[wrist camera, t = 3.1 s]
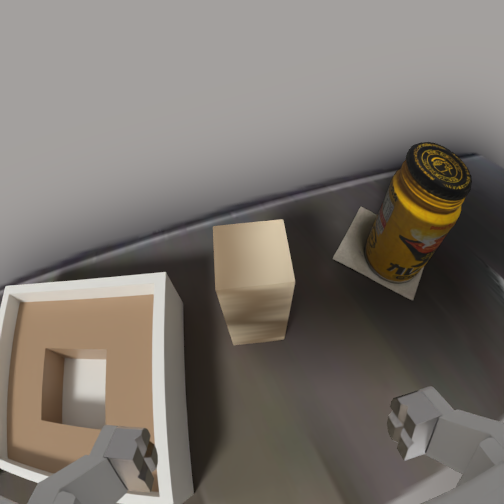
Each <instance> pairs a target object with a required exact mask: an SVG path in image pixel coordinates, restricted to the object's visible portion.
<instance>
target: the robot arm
mask: <svg viewBox="0 0 504 504" xmlns="http://www.w3.org/2000/svg"><path fill="white" fill-rule="evenodd" d="M390 407H391V409H392V410H393V411H392V412H391V414H390V415H389V416H388V421H387V427H388V432H389V435H390V437H391V439H392V440H393V441H396V442H398V447H397V449H398V451H399V453H400V454H401V456H402V458H403V459H404V461H405V460H408V459H411V458H414V457H417V456H420V455H422V454H425V453H426V455H427V456H429V457H431V458H433V459H435V460H436V461H438V462H440V463H442V464H444V465H446V466H448V467H450V468H451V469H453V470H455V471H457V472H459V473H461V474H463V475H462V477H461V479H460V480H459V482H458V484H457V486H456V488H454V489H452V490H450V491H448V492H446V493H444V494H442V495H439V496H437V497H435V498H433V499H431V500H428V501H426V502H424V503H421V504H504V423H503V422H499V421H495V420H492V419H488V418H485V417H481V416H478V415H475V414H471V413H468V412H465V411H462V410H458V409H457V410H455V411H454V409H453V408H452V407H451V406H450V405H449V404H448V403H447V402H446V401H445V399H444V398H443V397H442V396H441V395H440V394H439V393H438V392H437V391H436V390H435V388H434V387H432V386H429V387H426V388H423V389H420V390H418V391H415V392H411V393H408V394H405V395H402V396H399V397H395V398H393V400H392V401H391V406H390ZM150 437H151V435H150V433H149V431H148V429H147V428H141V427H128V426H115V425H105V426H103V427H102V430H101V432H100V434H99V436H98V438H97V440H96V442H95V444H94V446H93V448H92V450H91V452H90V454H89V455H84V456H83V457H81V458H79V459H78V460H76V461H75V462H73V463H71V464H70V465H68V466H66V467H65V468H63V469H61V470H60V471H58V472H56V473H55V474H53V475H51V476H49V477H48V478H46V479H44V480H42V481H41V482H39V483H38V484H37V486H36V488H35V490H34V492H33V494H32V496H31V498H30V499H29V501H28V503H27V504H115V503H116V502H118V501H119V500H120V499H121V498H122V497H123V496H124V495H125V494H126V493H127V492H128V491H138V492H151V490H152V486H153V482H154V477H153V475H152V472H153V471H155V470H156V469H157V464H158V454H157V449H156V447H155V444H153V443H152V442H151V441H149V440H150ZM127 490H128V491H127ZM0 504H18V503H16V502H14V501H11V500H9V499H7V498H5V497H3V496H1V495H0Z"/></svg>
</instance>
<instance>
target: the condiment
mask: <svg viewBox="0 0 504 504" xmlns="http://www.w3.org/2000/svg"><path fill="white" fill-rule="evenodd" d="M471 183H472V180H471V175H470V172H469V170H468V168H467V167H466V165H465V164H464V163H463V162H462V160H461V159H460V158H459V157H458V156H457V155H456V154H454V153H453V152H451V151H450V150H448V149H447V148H445V147H443V146H441V145H438V144H435V143H430V142H425V143H419V144H416V145H413V146H412V147H411V148H410V149H409V151H408V153H407V156H406V160H405V161H404V162H403V164H402V167H401V168H400V169H399V170H398V171H397V172H396V173H395V174H394V176H393V178H392V180H391V183H390V186H389V188H388V191H387V194H386V196H385V199H384V201H383V204H382V205H381V209H380V210H379V213H378V215H376V214H374V213H373V212H371V211H369V210H367V209H365V208H363V207H360V209H359V211H358V213H357V215H356V217H355V218H354V220H353V222H352V224H351V226H350V228H349V230H348V232H347V233H346V235H345V237H344V239H343V241H342V242H341V244H340V246H339V248H338V250H337V251H336V253H335V255H334V257H333V259H334V260H336V261H338V262H340V263H342V264H344V265H345V266H347V267H350V268H352V269H354V270H356V271H358V272H359V273H362V274H364V275H365V276H367V277H369V278H371V279H372V280H374V281H376V282H378V283H379V284H381V285H383V286H385V287H387V288H389V289H391V290H393V291H395V292H396V293H399V294H401V295H402V296H404V297H406V298H408V299H411V300H413V299H414V296H415V293H416V290H417V287H418V284H419V281H420V278H421V274H422V271H423V268H424V265H425V264H426V263H427V262H428V260H429V259H430V258H431V256H432V255H433V253H434V252H435V251H436V250H437V248H438V247H439V246H440V244H441V242H442V241H443V239H444V238H445V237H446V235H447V234H448V232H449V231H450V229H451V228H452V227H453V226H454V225H455V223H456V220H457V219H458V217H459V215H460V213H461V205H462V203H463V201H464V199H465V197H466V196H467V194H468V193H469V192H470V190H471ZM359 251H361V253H360V252H359ZM362 255H363V256H362Z"/></svg>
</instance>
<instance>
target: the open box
mask: <svg viewBox="0 0 504 504" xmlns="http://www.w3.org/2000/svg"><path fill="white" fill-rule="evenodd" d="M105 425H115V426H128V427H141V428H147V429H148V431H149V433H150V435H151V437H150V440H149V441H151V442H152V443H153V444H155V447H156V449H157V454H158V464H157V469H156V470H155V471H153V472H152V475H153V477H154V482H153V486H152V490H151V492H138V491H128V490H127V491H128V492H127V493H126V494H125V495H124V496H123V497H122V498H121V499H120V500H119V501H118V502H116V503H121V504H182V503H183V502H185V501H186V500H187V499H188V498H190V497H191V496H192V495H193V494H194V489H193V480H192V470H191V460H190V448H189V436H188V422H187V407H186V388H185V363H184V316H183V302H182V300H181V298H180V297H179V295H178V293H177V291H176V290H175V288H174V286H173V284H172V282H171V281H170V279H169V277H168V275H167V273H166V272H160V273H149V274H139V275H128V276H117V277H106V278H95V279H84V280H73V281H61V282H49V283H38V284H26V285H13V286H6V287H5V291H4V295H3V299H2V304H1V308H0V468H1V469H3V470H5V471H8V472H10V473H13V474H15V475H18V476H20V477H23V478H26V479H28V480H31V481H34V482H37V483H39V482H41V481H42V480H44V479H46V478H48V477H49V476H51V475H53V474H55V473H56V472H58V471H60V470H61V469H63V468H65V467H66V466H68V465H70V464H71V463H73V462H75V461H76V460H78V459H79V458H81V457H83V456H84V455H89V454H90V452H91V450H92V448H93V446H94V444H95V442H96V440H97V438H98V436H99V434H100V432H101V430H102V427H103V426H105Z"/></svg>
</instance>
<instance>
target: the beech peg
mask: <svg viewBox="0 0 504 504" xmlns="http://www.w3.org/2000/svg"><path fill="white" fill-rule="evenodd" d="M213 241H214V267H215V289H216V293H217V296H218V299H219V302H220V305H221V309H222V312H223V315H224V318H225V321H226V324H227V327H228V330H229V333H230V336H231V339H232V342H233V345H240V344H250V343H259V342H268V341H277V340H284V338H285V333H286V328H287V323H288V318H289V313H290V307H291V302H292V297H293V291H294V286H295V277H294V272H293V267H292V261H291V256H290V251H289V246H288V241H287V236H286V231H285V226H284V221H283V219H282V220H271V221H261V222H251V223H241V224H231V225H222V226H213Z"/></svg>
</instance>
